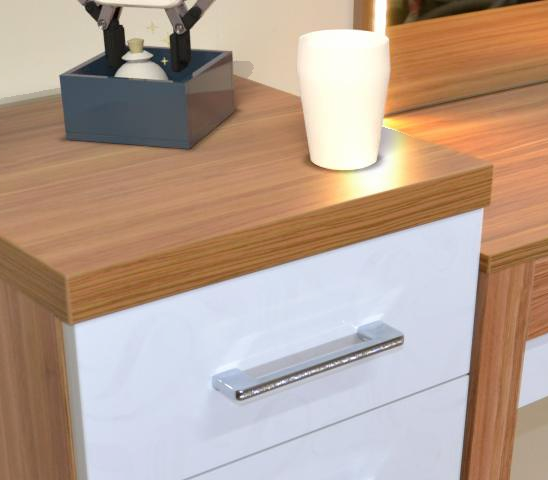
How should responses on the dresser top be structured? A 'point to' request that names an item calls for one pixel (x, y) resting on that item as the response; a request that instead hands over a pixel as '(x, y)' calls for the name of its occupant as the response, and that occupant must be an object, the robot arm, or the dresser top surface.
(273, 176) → the dresser top surface
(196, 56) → the dark blue open box
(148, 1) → the robot arm
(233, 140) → the dresser top surface
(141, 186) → the dresser top surface
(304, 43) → the cup
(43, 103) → the dresser top surface
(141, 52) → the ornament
